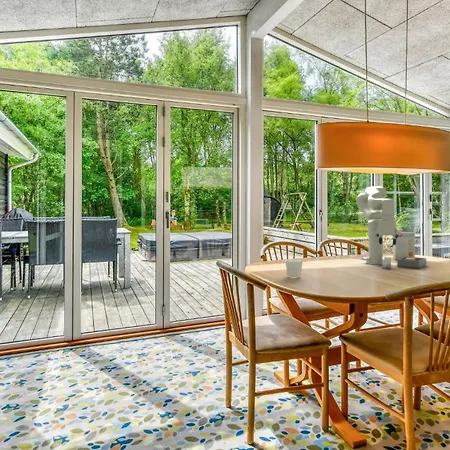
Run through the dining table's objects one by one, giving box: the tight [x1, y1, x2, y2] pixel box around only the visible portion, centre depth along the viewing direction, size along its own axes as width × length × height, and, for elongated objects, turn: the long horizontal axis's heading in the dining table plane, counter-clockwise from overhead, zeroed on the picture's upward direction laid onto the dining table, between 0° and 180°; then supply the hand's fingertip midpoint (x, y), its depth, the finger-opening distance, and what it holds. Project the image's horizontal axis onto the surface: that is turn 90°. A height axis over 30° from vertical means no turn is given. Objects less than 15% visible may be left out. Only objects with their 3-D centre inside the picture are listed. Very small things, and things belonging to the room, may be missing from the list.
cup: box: [284, 258, 303, 277], centre depth 221 cm, size 10×10×10 cm
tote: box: [396, 256, 427, 270], centre depth 256 cm, size 18×14×5 cm
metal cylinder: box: [381, 256, 392, 270], centre depth 247 cm, size 5×5×7 cm
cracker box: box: [392, 231, 416, 261], centre depth 285 cm, size 14×6×21 cm, turn 84°
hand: (387, 244), depth 246 cm, fingers open, 7 cm apart
